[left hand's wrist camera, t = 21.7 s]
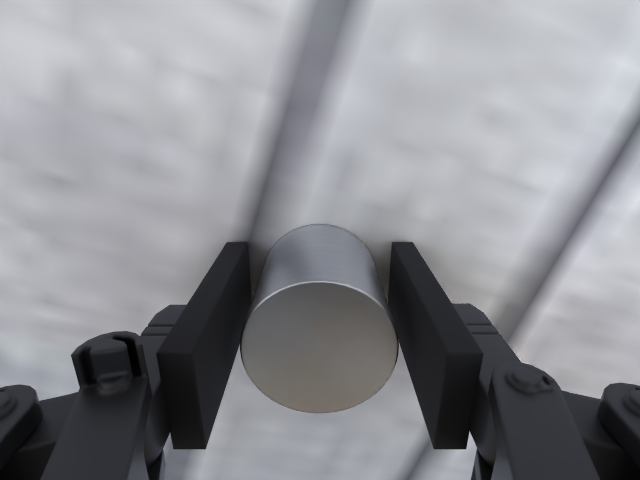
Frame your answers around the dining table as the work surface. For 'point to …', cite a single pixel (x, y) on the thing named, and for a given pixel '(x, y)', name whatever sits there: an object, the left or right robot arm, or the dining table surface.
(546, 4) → the dining table surface
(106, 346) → the left robot arm
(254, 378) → the can
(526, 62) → the dining table surface
